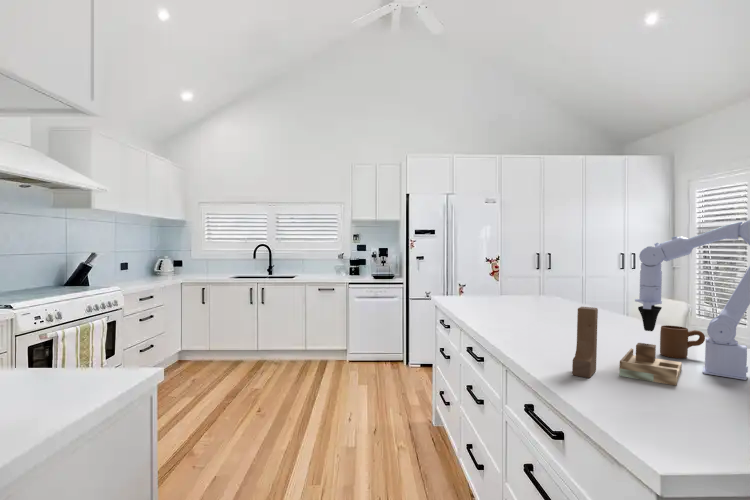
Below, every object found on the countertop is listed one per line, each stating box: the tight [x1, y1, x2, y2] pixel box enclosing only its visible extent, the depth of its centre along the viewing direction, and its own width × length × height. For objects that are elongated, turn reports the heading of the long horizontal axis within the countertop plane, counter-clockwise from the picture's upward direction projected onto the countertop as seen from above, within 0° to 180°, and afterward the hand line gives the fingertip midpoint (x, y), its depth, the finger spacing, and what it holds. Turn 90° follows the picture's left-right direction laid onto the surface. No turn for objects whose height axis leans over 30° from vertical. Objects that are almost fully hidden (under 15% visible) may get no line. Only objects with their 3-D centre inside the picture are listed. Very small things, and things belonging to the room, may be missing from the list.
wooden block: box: [571, 306, 599, 379], centre depth 124 cm, size 9×4×18 cm, turn 144°
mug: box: [659, 324, 706, 359], centre depth 146 cm, size 12×8×9 cm, turn 57°
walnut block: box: [635, 342, 657, 363], centre depth 132 cm, size 4×4×4 cm
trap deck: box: [618, 348, 683, 387], centre depth 127 cm, size 13×20×4 cm, turn 142°
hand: (649, 330), depth 138 cm, fingers open, 2 cm apart
